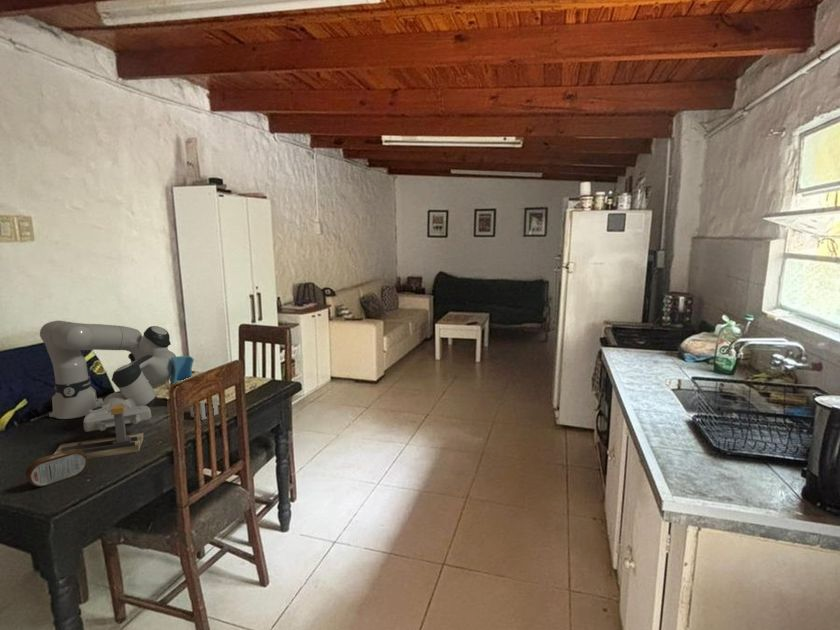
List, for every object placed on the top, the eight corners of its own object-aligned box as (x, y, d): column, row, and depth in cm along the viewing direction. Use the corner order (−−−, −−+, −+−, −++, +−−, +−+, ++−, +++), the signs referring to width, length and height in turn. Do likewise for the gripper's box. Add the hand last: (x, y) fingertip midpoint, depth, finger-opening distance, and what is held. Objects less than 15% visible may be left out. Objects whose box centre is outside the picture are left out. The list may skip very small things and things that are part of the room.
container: (219, 414, 196) (216, 383, 194) (202, 420, 190) (199, 389, 188) (207, 410, 200) (204, 381, 198) (190, 416, 194) (187, 386, 192)
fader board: (61, 449, 164) (60, 441, 164) (143, 437, 174) (142, 429, 173) (50, 465, 154) (48, 455, 153) (138, 451, 163) (137, 442, 162)
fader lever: (115, 443, 164) (110, 406, 162) (131, 441, 166) (127, 404, 164) (112, 447, 161) (108, 409, 158) (129, 445, 163) (125, 407, 160)
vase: (173, 406, 204) (174, 360, 202) (169, 401, 210) (170, 356, 208) (193, 403, 209) (194, 359, 207) (189, 398, 215) (189, 355, 213)
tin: (87, 469, 151) (84, 444, 149) (90, 472, 149) (87, 447, 147) (27, 489, 139) (23, 462, 138) (30, 492, 137) (26, 465, 136)
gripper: (150, 415, 180) (154, 426, 169) (85, 427, 169) (85, 441, 157) (148, 399, 179) (153, 409, 168) (82, 411, 168) (82, 423, 156)
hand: (119, 425), depth 163 cm, fingers open, 8 cm apart
